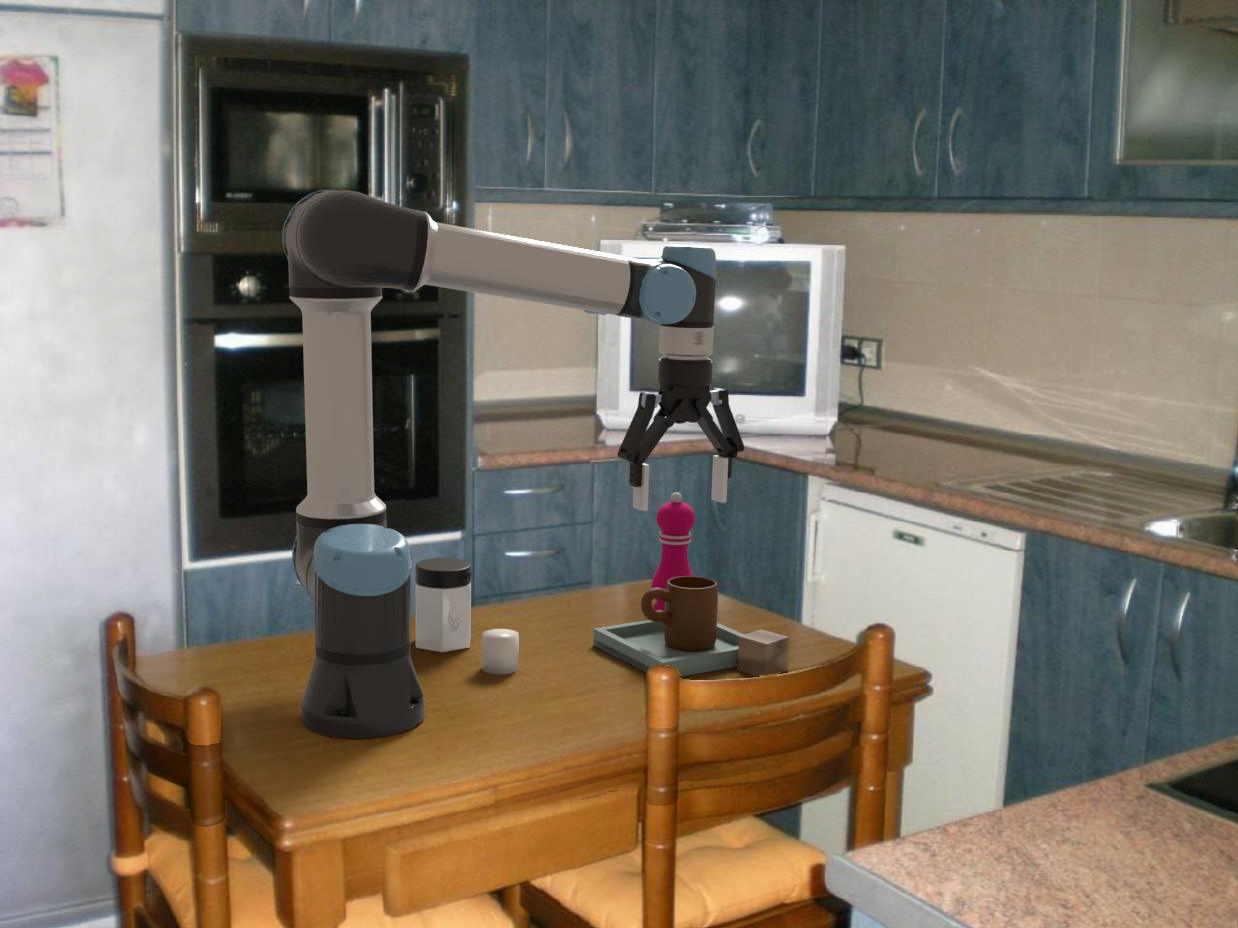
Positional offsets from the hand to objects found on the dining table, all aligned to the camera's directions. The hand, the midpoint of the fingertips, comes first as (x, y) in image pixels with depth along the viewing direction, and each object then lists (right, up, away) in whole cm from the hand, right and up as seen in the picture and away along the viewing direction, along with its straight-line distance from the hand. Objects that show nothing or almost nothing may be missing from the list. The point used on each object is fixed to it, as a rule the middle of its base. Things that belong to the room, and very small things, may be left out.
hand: (680, 505), depth 205 cm
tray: (0, -22, +4) cm, 22 cm away
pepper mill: (0, -18, +22) cm, 29 cm away
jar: (-34, -21, +6) cm, 41 cm away
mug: (0, -21, +4) cm, 21 cm away
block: (+11, -23, -3) cm, 26 cm away
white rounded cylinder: (-25, -23, -5) cm, 34 cm away
